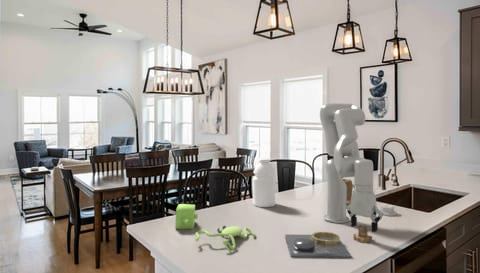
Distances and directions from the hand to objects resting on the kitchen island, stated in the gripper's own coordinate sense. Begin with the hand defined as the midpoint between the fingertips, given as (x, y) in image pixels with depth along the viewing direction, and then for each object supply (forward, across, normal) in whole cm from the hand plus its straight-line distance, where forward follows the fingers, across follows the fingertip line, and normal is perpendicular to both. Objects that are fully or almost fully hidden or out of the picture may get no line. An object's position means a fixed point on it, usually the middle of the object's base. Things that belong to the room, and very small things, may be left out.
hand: (363, 228), depth 140 cm
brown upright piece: (+3, -43, +47) cm, 64 cm away
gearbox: (+4, -62, -52) cm, 81 cm away
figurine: (+5, -34, -48) cm, 59 cm away
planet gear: (+5, -1, +1) cm, 5 cm away
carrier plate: (+5, -8, -22) cm, 24 cm away
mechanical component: (+4, -17, +46) cm, 49 cm away
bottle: (+3, -71, +5) cm, 72 cm away
